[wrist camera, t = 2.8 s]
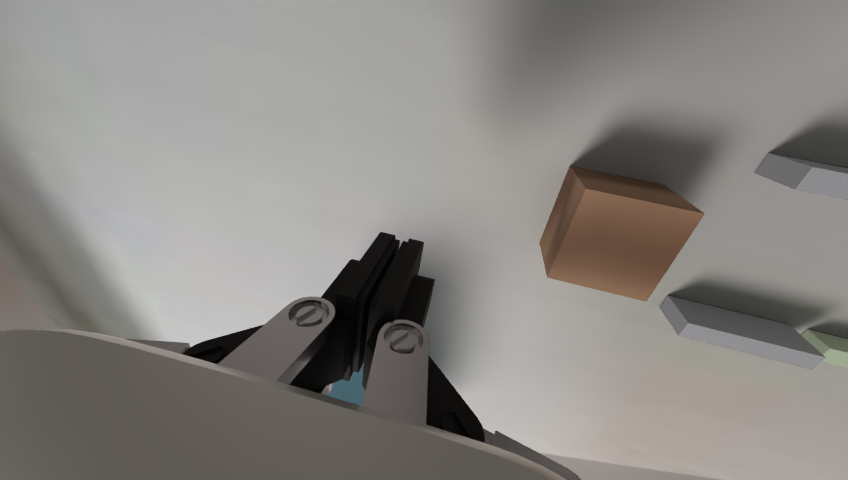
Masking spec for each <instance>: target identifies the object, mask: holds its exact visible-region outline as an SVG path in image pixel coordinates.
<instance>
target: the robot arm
mask: <svg viewBox="0 0 848 480" xmlns="http://www.w3.org/2000/svg"><path fill="white" fill-rule="evenodd" d="M399 243H400V241H399V240H396V239H395V235H391V234H387V233H383V232H380V234H379V235H378V236H377V238H376V239H375V241H374V242H373V243H372V245H371V246H370V247H369V249H368V250H367V252H366V253H365V254H364V256H363V257H362V259H361V260H360V261H358V260H353V259H352V260H350V261H349V262H348V263H347V265H346V266H345V267H344V269H343V270H342V271H341V272H340V274H339V275H338V276H337V278H336V279H335V280H334V281H333V283H332V284H331V285H330V287H329V288H328V289H327V290H326V292H325V293H324V294H323V296H322V297H321V298H320V297H304V298H300V299H297V300H295V301H293V302H292V303H290V304H289V305H287V306H286V307H285V308H284V309H283V310H281V311H280V312H279V313H278V314H277V315H275V316H274V317H273V318H272V319H271V320H269V321H268V322H267V323H266V324H265V325H261V326H258V327H254V328H251V329H247V330H243V331H240V332H236V333H232V334H229V335H225V336H222V337H218V338H214V339H211V340H207V341H204V342H201V343H199V344H196V345H194V346H193V347H190V345H189V343H180V342H165V341H150V340H135V339H122V338H117V337H112V336H108V335H103V334H98V333H92V332H85V331H78V330H68V329H50V328H38V329H17V330H6V331H0V480H581V479H580V478H579V477H578V476H577V475H576V474H575V473H573V472H572V471H571V470H569V469H568V468H566V467H564V466H562V465H560V464H558V463H557V462H554V461H553V460H551V459H549V458H547V457H545V456H543V455H541V454H540V453H538V452H536V451H534V450H532V449H530V448H528V447H526V446H524V445H522V444H521V443H519V442H517V441H515V440H513V439H511V438H509V437H507V436H505V435H503V434H502V433H500V432H498V431H495V433H494V434H493V433H491V432H489V431H487V430H485V429H483V427H482V425H481V423H480V422H479V420H478V418H477V417H476V415H475V414H474V413H473V412H472V410H471V409H470V408H469V406H468V405H467V404H466V403H465V401H464V400H463V399H462V397H461V396H460V395H459V394H458V392H457V391H456V390H455V388H454V387H453V386H452V385H451V383H450V382H449V381H448V379H447V378H446V377H445V376H444V374H443V373H442V372H441V370H440V369H439V368H438V367H437V365H436V364H435V363H434V361H433V360H432V359H431V358H430V356H429V339H428V335H427V333H426V331H425V330H424V329H423V327H424V324H425V320H426V316H427V312H428V308H429V304H430V300H431V295H432V291H433V286H434V281H435V279H431V278H427V277H423V276H419V275H418V272H419V267H420V261H421V256H422V251H423V245H424V242H421V241H417V240H413V239H409V241H408V242H405V241H403V243H402V244H401V246H400V248H399ZM363 363H364V366H363V380H362V386H363V387H364V389H365V396H364V400H363V405H362V406H361V405H357V404H354V403H350V402H347V401H344V400H340V399H337V398H333V397H330V396H328V394H329V393H330V391H331V389H332V384H333V383H334V382H337V381H339V380H346V381H349V380H350V378H351V376H352V374H353V372H357V373H358V372H359V371H360V369H361V367H362V365H363Z"/></svg>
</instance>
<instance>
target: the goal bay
mask: <svg viewBox="0 0 848 480" xmlns="http://www.w3.org/2000/svg"><path fill="white" fill-rule="evenodd" d="M801 336H802V337H804V338H805V339H806V340H807V341H808V342H809V343H810V344H812V345H813V346H814V347H815V348H816V349H817V350H818V351H819V352H821V353H822V354H823V355H824V356H825V357H826V358H825V359H824V360H823V361H822V362H825V363H829V364H833V365H837V366H841V367H845V368H848V339H845V338H841V337H837V336H833V335H829V334H825V333H821V332H817V331H812V330H808V329H807V330H806V331H805V332H804V333H803V334H802V335H801Z"/></svg>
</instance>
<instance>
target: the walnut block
mask: <svg viewBox="0 0 848 480" xmlns="http://www.w3.org/2000/svg"><path fill="white" fill-rule="evenodd" d="M703 215H704V213H703V212H702V211H700V210H699V209H697V208H696V207H694V206H693V205H692V204H690V203H689V202H687V201H686V200H685V199H683V198H682V197H680V196H679V195H678V194H676V193H675V192H673V191H672V190H670V189H669V188H668V187H666V186H665V185H661V184H656V183H651V182H646V181H641V180H636V179H631V178H626V177H621V176H616V175H612V174H607V173H602V172H597V171H592V170H587V169H582V168H577V167H572V166H569V169H568V172H567V174H566V177H565V179H564V182H563V184H562V187H561V189H560V192H559V194H558V197H557V200H556V202H555V205H554V207H553V210H552V212H551V215H550V217H549V220H548V222H547V225H546V228H545V230H544V233H543V235H542V238H541V240H540V247H541V251H542V256H543V260H544V265H545V269H546V274H547V277H548V278H552V279H556V280H560V281H564V282H568V283H572V284H577V285H581V286H585V287H589V288H593V289H597V290H601V291H605V292H609V293H613V294H618V295H622V296H626V297H630V298H634V299H638V300H642V301H647V300H648V298H649V297H650V295H651V294H652V292H653V291H654V289H655V288H656V286H657V285H658V283H659V282H660V280H661V279H662V277H663V276H664V274H665V273H666V271H667V270H668V268H669V267H670V265H671V264H672V262H673V261H674V259H675V258H676V256H677V255H678V253H679V252H680V250H681V249H682V247H683V246H684V244H685V243H686V241H687V240H688V238H689V237H690V235H691V234H692V232H693V231H694V229H695V228H696V226H697V225H698V223H699V221H700V220H701V218H702V217H703Z"/></svg>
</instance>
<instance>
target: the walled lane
mask: <svg viewBox="0 0 848 480" xmlns="http://www.w3.org/2000/svg"><path fill="white" fill-rule="evenodd" d="M755 173H756V174H758V175H761V176H763V177H766V178H768V179H771V180H773V181H775V182H778V183H780V184H783V185H785V186H788V187H790V188H793V189H795V190H800V191H805V192H810V193H815V194H820V195H825V196H830V197H835V198H840V199H845V200H848V168H844V167H838V166H833V165H828V164H823V163H818V162H812V161H807V160H802V159H797V158H791V157H786V156H781V155H776V154H771V153H768V155H767V156H766V157H765V159H764V160H763V162H762V163H761V165H760V166H759V167H758V169H757V170H756V172H755ZM660 309H661V310H662V312H663V313H664V315H665V316H666V318H667V319H668V321H669V322H670V324H671V325H672V327H673V328H674V330H675V331H676V333H677V334H678V336H682V337H686V338H690V339H694V340H698V341H701V342H705V343H709V344H713V345H717V346H721V347H725V348H729V349H733V350H737V351H741V352H745V353H749V354H752V355H756V356H760V357H764V358H768V359H772V360H776V361H780V362H784V363H788V364H792V365H796V366H800V367H803V368H807V369H811V370H812V369H813V368H814V367H816V366H817V365H818V364H819V363H820V362H822V361H823V360H824V359H825V358H826V357H825V356H824V355H823V354H822V353H821V352H819V351H818V350H817V349H816V348H815V347H814V346H813V345H812V344H810V343H809V342H808V341H807V340H806V339H805V338H804V337H802V336H801V335H800V334H799V333H798V332H797V331H796V330H795V329H793V328H792V327H791V326H790V325H788V324H784V323H779V322H775V321H771V320H767V319H763V318H759V317H755V316H751V315H747V314H742V313H738V312H734V311H730V310H726V309H722V308H718V307H714V306H710V305H705V304H701V303H697V302H693V301H689V300H685V299H681V298H677V297H672V296H667V297H666V299H665V300H664V301H663V303H662V304H661V306H660Z"/></svg>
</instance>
